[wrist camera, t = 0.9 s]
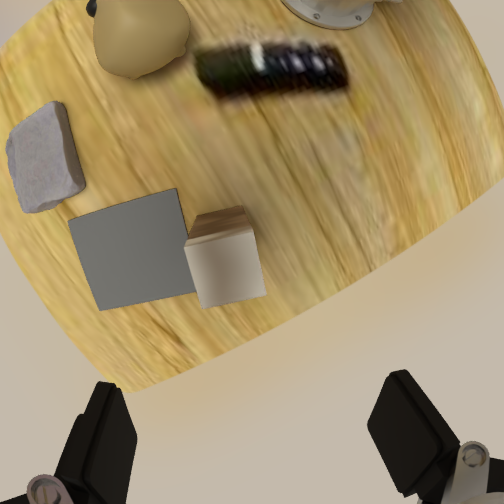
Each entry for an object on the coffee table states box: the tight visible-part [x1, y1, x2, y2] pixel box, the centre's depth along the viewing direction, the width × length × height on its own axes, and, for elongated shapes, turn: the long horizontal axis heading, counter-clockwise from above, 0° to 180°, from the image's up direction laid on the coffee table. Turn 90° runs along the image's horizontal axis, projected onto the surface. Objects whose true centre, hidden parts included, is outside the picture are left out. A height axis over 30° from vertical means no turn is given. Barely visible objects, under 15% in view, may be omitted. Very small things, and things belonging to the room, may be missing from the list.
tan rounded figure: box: [86, 0, 190, 80], centre depth 20 cm, size 10×12×11 cm
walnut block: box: [184, 206, 267, 309], centre depth 27 cm, size 5×5×12 cm
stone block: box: [5, 101, 85, 213], centre depth 27 cm, size 12×5×10 cm
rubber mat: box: [68, 188, 197, 311], centre depth 32 cm, size 14×12×1 cm
